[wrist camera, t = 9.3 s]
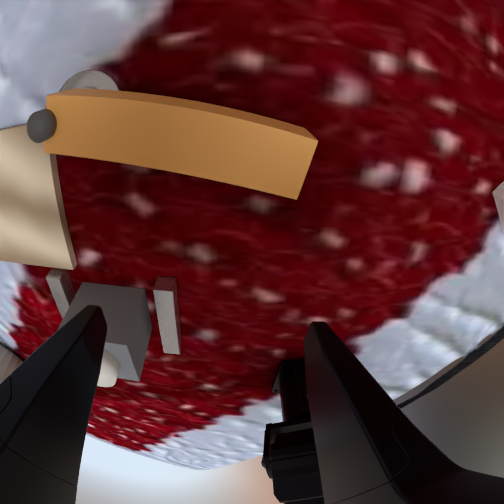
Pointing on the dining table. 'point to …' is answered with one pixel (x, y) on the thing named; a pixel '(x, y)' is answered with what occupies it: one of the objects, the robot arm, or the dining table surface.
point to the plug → (118, 328)
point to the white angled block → (500, 202)
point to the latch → (176, 137)
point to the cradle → (164, 285)
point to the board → (31, 204)
